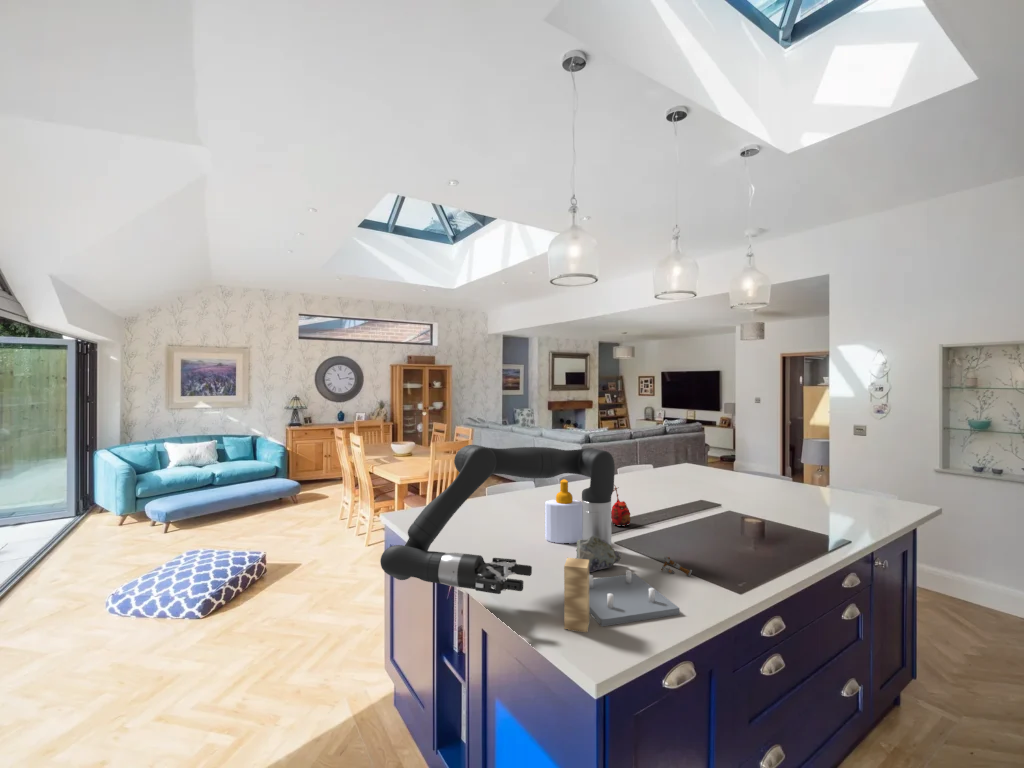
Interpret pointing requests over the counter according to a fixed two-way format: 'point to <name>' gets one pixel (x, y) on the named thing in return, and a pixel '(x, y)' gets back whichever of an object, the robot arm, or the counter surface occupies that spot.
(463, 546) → the counter surface
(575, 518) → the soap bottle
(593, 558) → the mineral rock
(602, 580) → the peg board
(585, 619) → the oak post
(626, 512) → the red clay folk toy
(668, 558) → the orange grey jointed piece
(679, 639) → the counter surface
